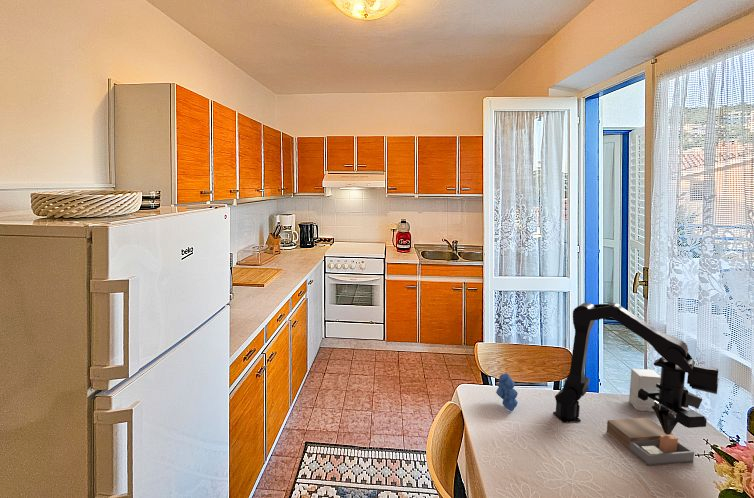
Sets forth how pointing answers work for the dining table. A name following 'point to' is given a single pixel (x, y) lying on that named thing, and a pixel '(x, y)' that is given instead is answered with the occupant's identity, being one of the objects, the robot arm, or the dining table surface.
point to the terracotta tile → (668, 443)
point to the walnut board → (634, 430)
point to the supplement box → (642, 380)
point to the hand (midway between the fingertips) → (667, 434)
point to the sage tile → (651, 449)
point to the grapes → (507, 391)
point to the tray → (664, 458)
